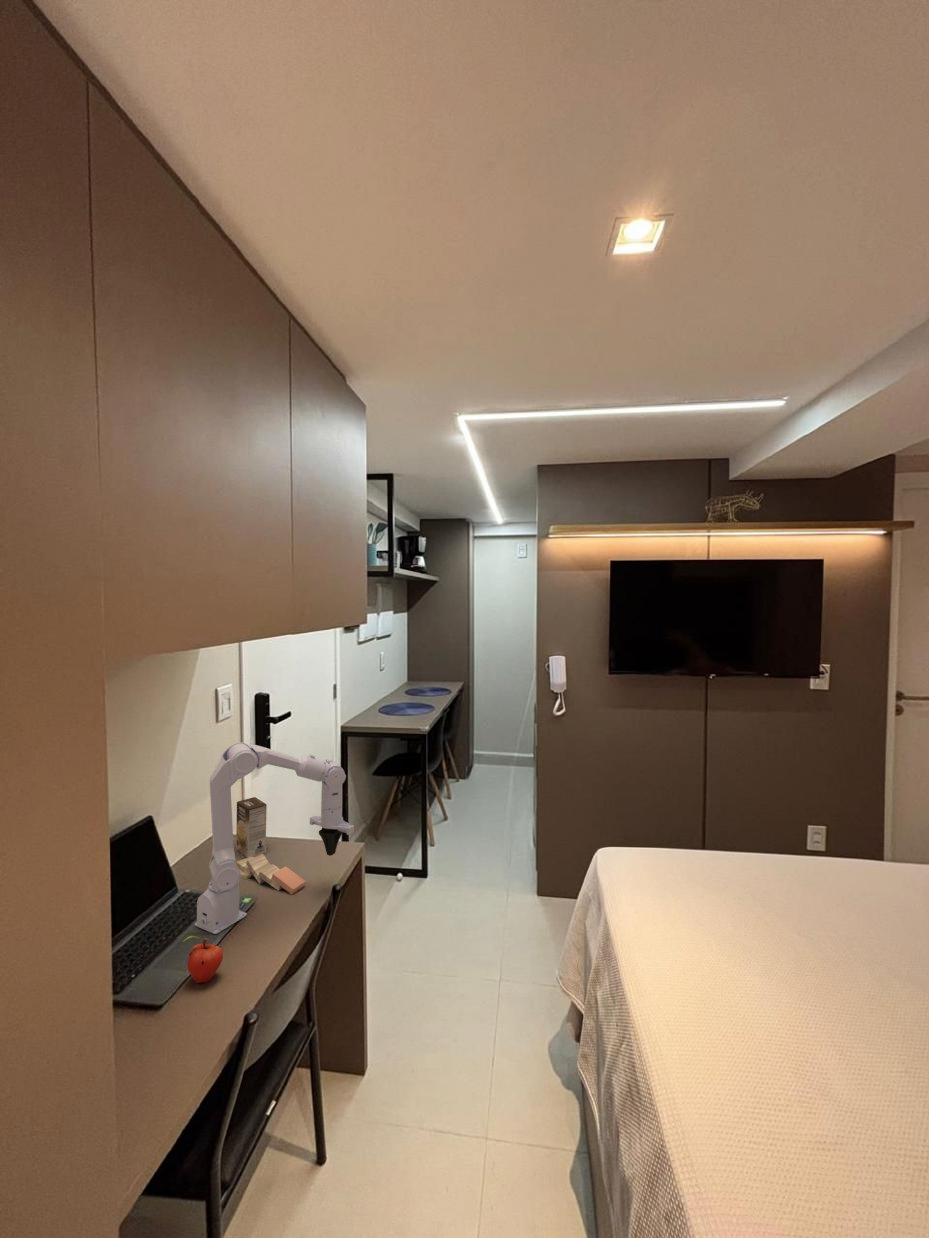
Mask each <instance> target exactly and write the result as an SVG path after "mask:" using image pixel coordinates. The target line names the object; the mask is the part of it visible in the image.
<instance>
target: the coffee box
mask: <svg viewBox="0 0 929 1238" xmlns="http://www.w3.org/2000/svg"><path fill="white" fill-rule="evenodd" d="M267 806H268V805H267V803H265V802H264V801H262V800H260V799H259V798H257V797H256V796H254V797H249V798H245V799H242V800H239V801H236V837H235V838H236V841H235V844H236V847H235V850H237V851H238V852H239V853H240V854H241V855H243V856H244V857H245V859H246V858H248V857H251V856H252V857H256V856H258V855H261V854H263V855H264V854H266V852H267V851H266V849H267Z"/></svg>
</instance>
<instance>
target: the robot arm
mask: <svg viewBox="0 0 929 1238" xmlns="http://www.w3.org/2000/svg"><path fill="white" fill-rule="evenodd" d="M268 765H269V766H275V767H278V768H283V769H289V770H292V771H295V774H296V776H297V777H300V778H304V779H308V780H312V781H315V782H321V793H320V795H321V797H320V799H321V802H320V803H321V804H320V806H321V808H320V812H321V813H320V814H321V815H320V816H319V815H313V816H311V817H309V825H311V826H313V825H316V826H319V827H321V829H320V830H318V835H319V836H320V837H321V839H322V842H323V846H324V848H325V853H326V856H329V857H332V856H333V855H335V854H336V851H337V848H338V843H339V840H340V838H341V837H342V834H343V833H345V834H346V835H348V836H350V835H352V834H354V833H355V825H354V824H350V823H349V822H347V821H345V820H344V817H343V784H344V783H345V781H346V778H347V775H346V773H345V770H344V769H343V767H341V766H340V765H339V764H338V763H336V762H334V761H333V760H329V759H325V760H324V759H321V758H320V759H319V758H317V757H316V756H315V755H314V754H310V753H309V754H308V755H302V756H300V757H295V756H292V755H290V754H286V753H283V752H281V751H278V750H274V749H271V748H267V747H265V746H261V745H257V744H251V743H249V744H248V743H245V742H241V741H238V742H235V743H233V744H231V745H230V746H229V747H228V748H227V749H226V750H224V751H222V753H221V757H220V760H219V761H218V763H217V765H216V767H215V769H214V770H213V772H212V773H211V775H210V777H209V778H210V779H209V793H210V795H209V796H210V811H211V812H210V813H211V814H210V815H211V832H212V833H211V835H212V849H211V858H210V860H209V863H208V872H209V873H210V875H211V878H210V881H209V883H208V887H207V889H206V890H205V891H204V893H202V894H201V895H200V896H198V898H197V902H196V922H194V926H195V927H197V928H200V929H202V930H204V931H207V932H209V933H211V934H213V935H217V934H219V933H220V932H222V931H224V930H225V929H227V928H229V927H230V926H232V925H234V924H235V923H237V922H238V921H240V920H242V919H243V918H245V917H247V915H248V914H247V912H244V911H241V910H240V879H241V877H240V876H241V874H240V870H239V868H238V867H237V865H236V862H237V860H236V853H235V849H234V828H233V808H232V791H231V790H232V789H231V788H232V786H233V785H235V783H236V782H237V781H238V780H240V779H243V778H244V777H245V776H247V775H249V774H251V773H252V772H254V770H256V768H257V769H258V770H260V769H262V768H264V767H265V766H268Z"/></svg>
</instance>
